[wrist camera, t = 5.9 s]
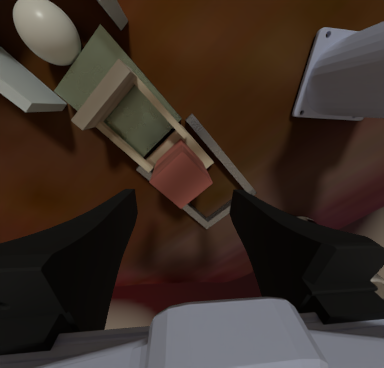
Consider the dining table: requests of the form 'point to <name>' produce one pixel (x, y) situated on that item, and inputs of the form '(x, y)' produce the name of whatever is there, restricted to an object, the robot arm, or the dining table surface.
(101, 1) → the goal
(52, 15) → the ball
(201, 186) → the carriage
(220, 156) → the track
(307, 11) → the dining table surface
